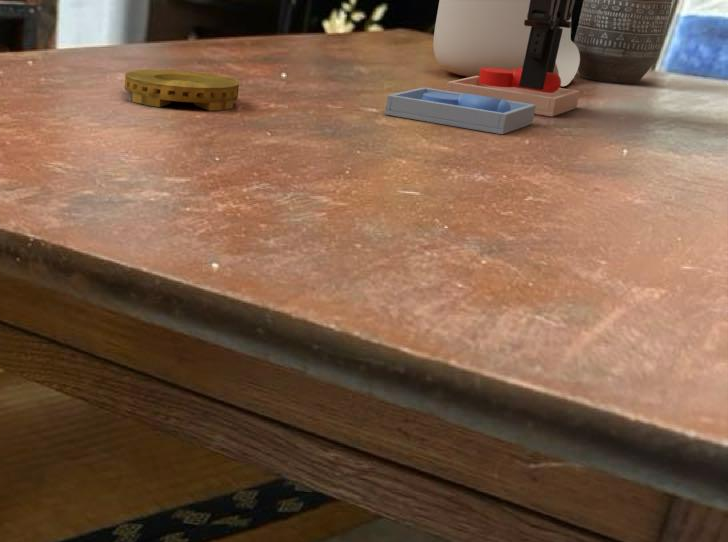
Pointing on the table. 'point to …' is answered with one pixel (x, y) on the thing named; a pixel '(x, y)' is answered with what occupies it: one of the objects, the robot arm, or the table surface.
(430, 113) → the blue tray
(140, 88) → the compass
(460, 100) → the blue spoon
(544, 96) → the rose tray
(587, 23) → the planter
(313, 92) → the table surface
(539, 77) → the robot arm
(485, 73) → the red spoon
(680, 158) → the table surface
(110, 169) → the table surface
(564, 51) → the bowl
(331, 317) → the table surface
